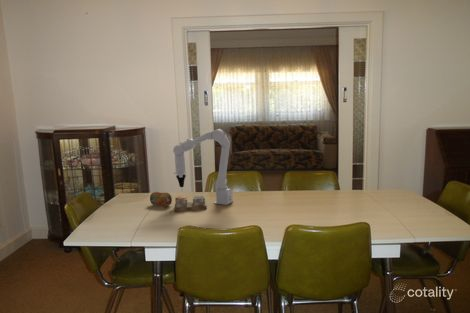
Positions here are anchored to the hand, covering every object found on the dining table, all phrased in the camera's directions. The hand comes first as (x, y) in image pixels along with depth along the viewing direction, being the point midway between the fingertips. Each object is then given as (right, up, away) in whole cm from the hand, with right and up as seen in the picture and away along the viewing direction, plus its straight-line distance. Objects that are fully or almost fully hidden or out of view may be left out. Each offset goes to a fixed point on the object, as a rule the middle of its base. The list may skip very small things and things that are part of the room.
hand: (181, 186), depth 216 cm
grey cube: (+11, -9, -8) cm, 16 cm away
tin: (-12, -12, -1) cm, 17 cm away
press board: (+6, -12, -8) cm, 16 cm away
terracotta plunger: (+1, -9, -10) cm, 13 cm away
